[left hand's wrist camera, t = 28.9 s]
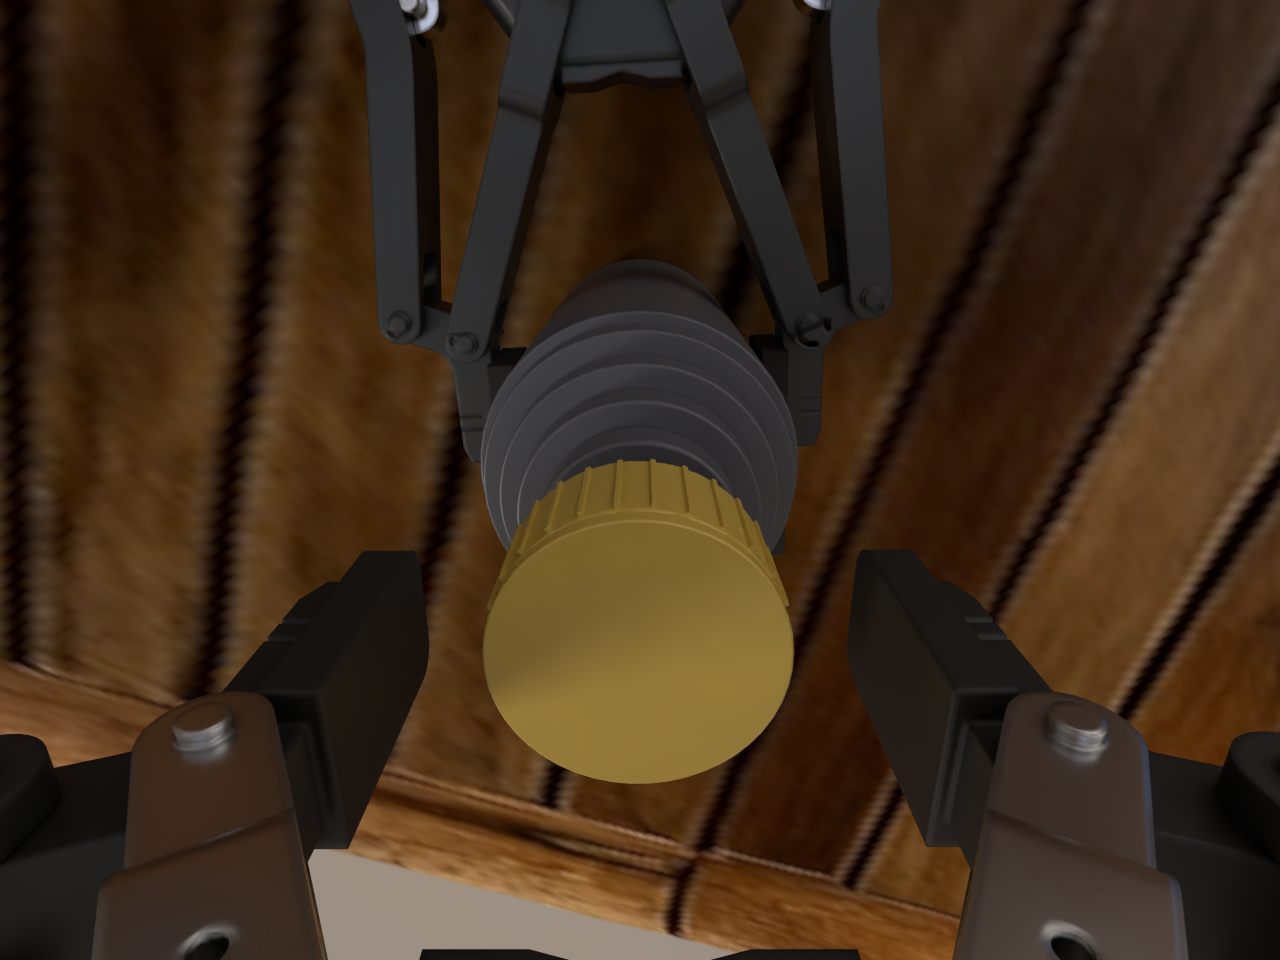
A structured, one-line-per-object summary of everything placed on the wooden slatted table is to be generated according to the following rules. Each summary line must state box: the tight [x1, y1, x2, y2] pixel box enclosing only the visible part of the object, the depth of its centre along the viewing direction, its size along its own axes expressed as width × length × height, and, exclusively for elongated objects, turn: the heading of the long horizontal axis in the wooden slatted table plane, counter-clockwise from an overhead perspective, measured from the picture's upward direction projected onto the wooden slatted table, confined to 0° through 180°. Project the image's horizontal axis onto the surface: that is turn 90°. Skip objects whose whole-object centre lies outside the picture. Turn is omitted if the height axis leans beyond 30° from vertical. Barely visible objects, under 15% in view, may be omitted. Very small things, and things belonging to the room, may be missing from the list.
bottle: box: [480, 259, 798, 553], centre depth 20 cm, size 7×7×20 cm
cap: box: [482, 459, 794, 784], centre depth 11 cm, size 4×4×2 cm
